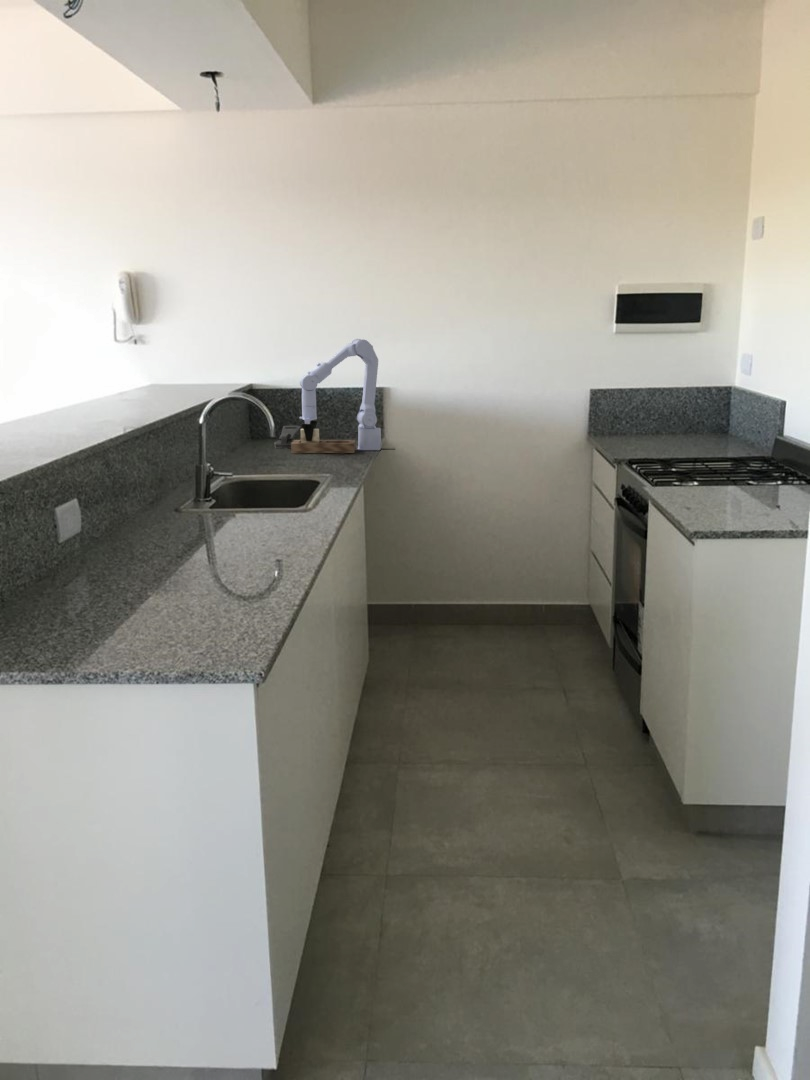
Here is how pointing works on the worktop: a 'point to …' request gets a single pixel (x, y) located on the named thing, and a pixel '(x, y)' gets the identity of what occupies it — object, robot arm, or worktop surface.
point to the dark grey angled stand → (287, 436)
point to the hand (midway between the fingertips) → (309, 439)
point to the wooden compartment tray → (324, 446)
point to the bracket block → (314, 439)
